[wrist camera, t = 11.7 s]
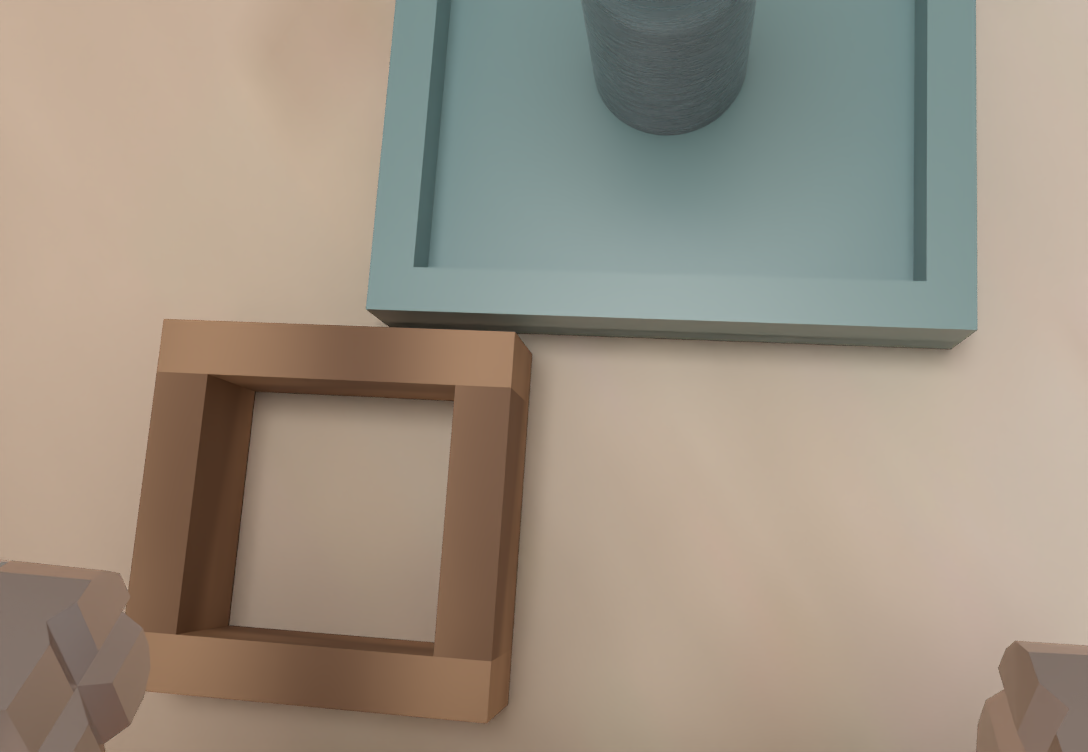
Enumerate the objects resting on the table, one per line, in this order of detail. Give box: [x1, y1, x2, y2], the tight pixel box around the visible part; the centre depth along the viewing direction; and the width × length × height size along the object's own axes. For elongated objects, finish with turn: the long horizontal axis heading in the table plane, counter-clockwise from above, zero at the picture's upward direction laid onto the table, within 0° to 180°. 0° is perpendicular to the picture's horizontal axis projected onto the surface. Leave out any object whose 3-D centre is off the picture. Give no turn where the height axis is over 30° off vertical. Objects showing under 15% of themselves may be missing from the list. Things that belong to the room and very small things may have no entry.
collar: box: [125, 319, 532, 723], centre depth 22 cm, size 8×8×2 cm
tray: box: [366, 0, 977, 349], centre depth 23 cm, size 13×13×2 cm
